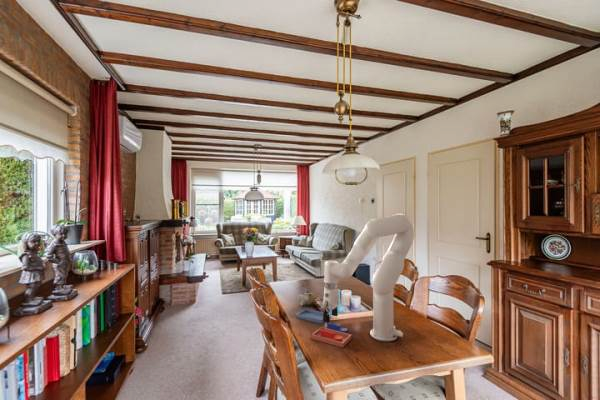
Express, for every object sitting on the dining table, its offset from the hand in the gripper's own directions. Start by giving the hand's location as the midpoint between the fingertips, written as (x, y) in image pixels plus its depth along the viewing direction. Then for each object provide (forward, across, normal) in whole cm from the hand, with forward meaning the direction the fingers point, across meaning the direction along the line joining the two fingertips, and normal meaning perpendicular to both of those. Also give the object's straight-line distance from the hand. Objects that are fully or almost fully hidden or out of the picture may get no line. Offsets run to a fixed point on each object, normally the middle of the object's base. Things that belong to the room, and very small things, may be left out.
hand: (330, 318), depth 144 cm
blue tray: (+5, +8, +15) cm, 18 cm away
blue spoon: (+5, 0, -3) cm, 6 cm away
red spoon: (+4, -10, -5) cm, 12 cm away
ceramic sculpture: (+6, +25, +27) cm, 37 cm away
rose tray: (+5, -10, -5) cm, 12 cm away
